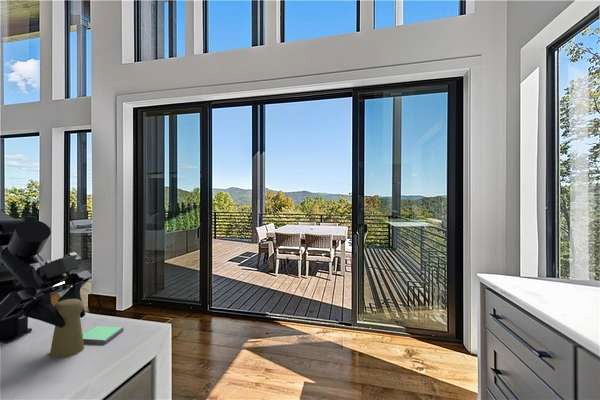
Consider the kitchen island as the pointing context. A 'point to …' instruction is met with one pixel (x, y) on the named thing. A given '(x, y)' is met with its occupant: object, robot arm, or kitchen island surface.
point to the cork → (68, 330)
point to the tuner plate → (101, 334)
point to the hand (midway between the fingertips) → (74, 321)
